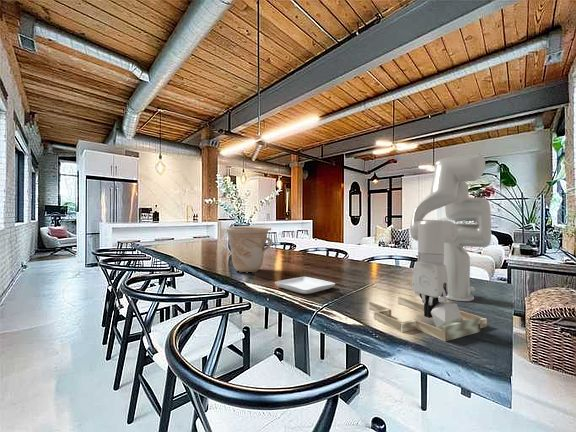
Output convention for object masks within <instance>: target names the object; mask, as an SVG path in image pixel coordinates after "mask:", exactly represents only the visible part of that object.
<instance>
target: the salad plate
mask: <svg viewBox="0 0 576 432" xmlns="http://www.w3.org/2000/svg"><path fill="white" fill-rule="evenodd" d="M274 283H275V285H276V286H277V287H279V288H282V289H285V290H288V291H291V292H295V293H298V294H303V295H309V294H313V293H319V292H322V291H325V290H329V289H331V288H333V287H334V286H335V285H336V282H332V281H329V280H328V281H327V280H323V279H319V278H314V277H309V276H300V277H292V278H287V279H283V280H282V279H281V280H277V281H275V282H274Z"/></svg>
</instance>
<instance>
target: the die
mask: <svg viewBox="0 0 576 432" xmlns="http://www.w3.org/2000/svg"><path fill="white" fill-rule="evenodd" d="M459 310H460V309H459V307H458V304H457V303H454V302H447V301H446V302H439V303H438V304H436V305H435V306H434V308H433V309H432V311H431V314H432V318H433V319H432V320H433V322H434V325H435V327H437V328H439V329H442V326H443V325H447V324H451V323H455V322H460V321H463V319H462V316H461V314H460V311H461V310H460V311H459Z"/></svg>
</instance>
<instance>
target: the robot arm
mask: <svg viewBox="0 0 576 432" xmlns="http://www.w3.org/2000/svg"><path fill="white" fill-rule="evenodd" d="M485 170H486V159H485V157H484V156H483V155H481V154H470V155H458V156H450V157H444V158H443V157H442V158H440V159H438V160H436V161H435V163H434V172H433V176H432V184H431V189H430V194H429V195H428V196H426V197H425V198H423V199H422V200H421V201H420V202H419V204H418V205H417V206H416V207H415V209H414V210H413V213H412V215H411V216H412V217H411V221H410V228H409V233H410V237H411V239H413V240H415V241H417V253H416V254H415V257H416V258H417V261H415V263H414V267H413V271H412V281H411V283H412V284H411V285H412V286H411V289H412V290H413V292H414V294H415V295H417V296H418V297H420V299H421V302H422V304H423V305H424V313H423V317H424V318H427V319H432V318H433V317H432V314H431V311H432V309H433V308H434V306H435V305H436V304H438V303H439V302H447V300H451V301H457V302H472V301H474V300H475V297H474V295H472V294H471V292H475V291H476V290H475V289H476V288H475V287H474V286H470V285H471V284H470V283H471V282H470V281H471V269H470V268H471V257H470V255H469V253H468V252H467V250H466V249H464V248H465V247H467V248H468V247H469V248H486V247H488V246H490V244H491V241H492V212H491V211H492V210H491V204H490V201H489V200H488V199H487V198H485V197H469V186H468V183H467V182H475V181H478V180H479V179H480V178H481V177H482V176H483V174H484V172H485ZM443 207H444V208H445V209H444V211H445V217H446V218H447V219H448V220H442V219H441V220H439V219H425V217H426V216H427V215H428V214H429V213H431V212H433V211H435V210H438V209H441V208H443ZM453 221H461V222H464V221H465V222H466V221H467V222H470V221H471V222H476V223H454V222H453Z"/></svg>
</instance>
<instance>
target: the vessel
mask: <svg viewBox="0 0 576 432" xmlns="http://www.w3.org/2000/svg"><path fill="white" fill-rule="evenodd" d="M224 230H225V231H226V233H227V237H228V240H229V243H228V245H229V248H230V254H231V262H232V265H233V266H232V267H233V268H234V270H237V272H238V271H239V272H238V273H241V272H246V273H245V274H248V272H252V273H256V272H258V271H259V269H260V268H261V267H262V265H263V263H264V254H265V252H266V251H267V250H268V249H270V248H271V247H272V245H273V239H272V238H270V237H268V232H269V231H271V230H272V227H270V226H266V225H265V226H262V225H236V226H235V225H234V226H224ZM266 241H267V242H268V244H267V245H266ZM265 245H266V246H265Z"/></svg>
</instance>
